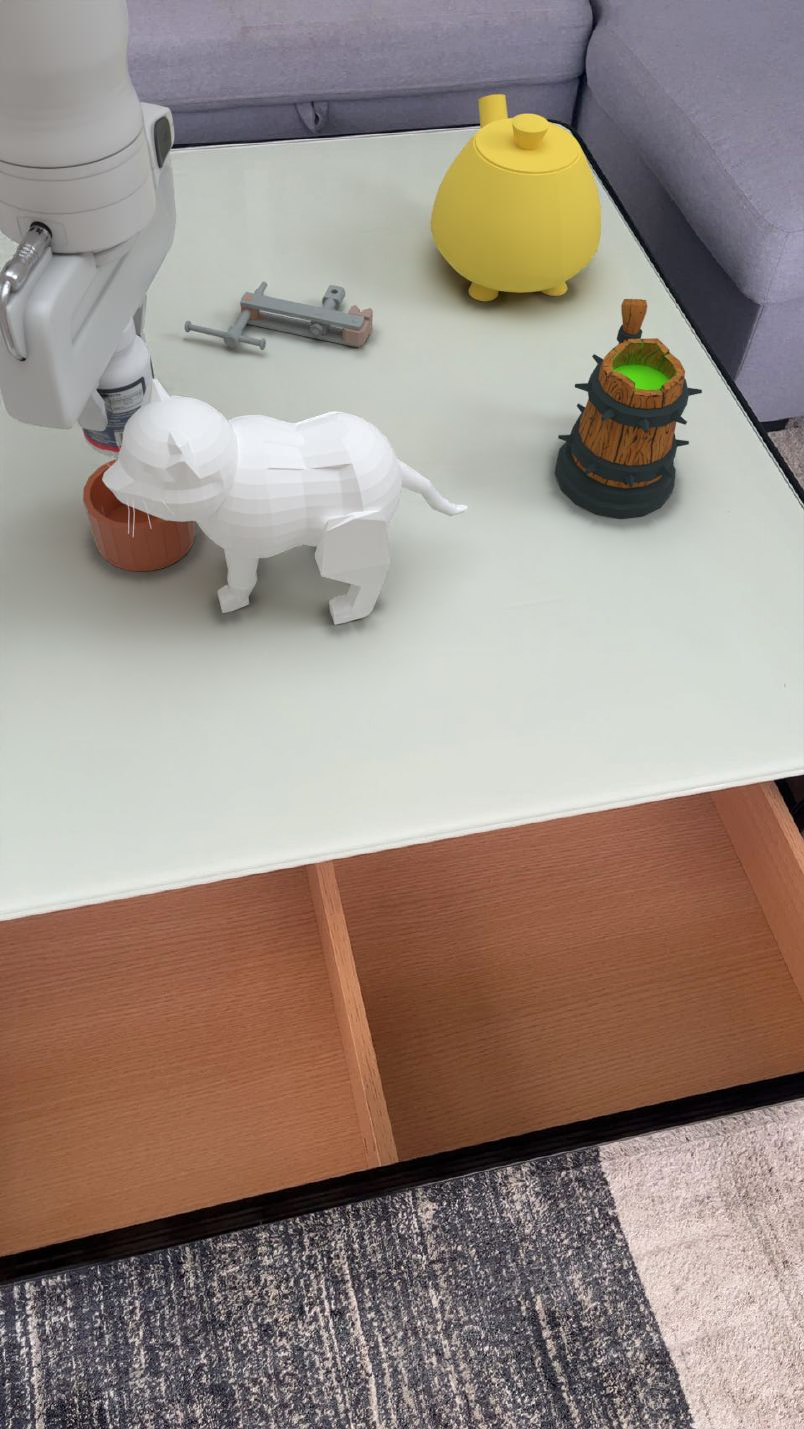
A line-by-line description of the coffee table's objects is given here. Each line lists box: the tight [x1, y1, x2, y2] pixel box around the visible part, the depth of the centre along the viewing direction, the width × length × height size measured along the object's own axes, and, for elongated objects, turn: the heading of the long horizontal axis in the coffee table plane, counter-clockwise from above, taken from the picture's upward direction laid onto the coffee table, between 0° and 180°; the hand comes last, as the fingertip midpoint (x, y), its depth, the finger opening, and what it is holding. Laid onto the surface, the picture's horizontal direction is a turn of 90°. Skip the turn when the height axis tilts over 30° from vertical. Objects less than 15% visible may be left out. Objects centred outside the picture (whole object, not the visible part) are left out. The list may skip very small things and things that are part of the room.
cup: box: [82, 458, 196, 572], centre depth 78 cm, size 7×7×4 cm
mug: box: [554, 298, 703, 520], centre depth 82 cm, size 13×10×12 cm
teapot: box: [430, 93, 602, 302], centre depth 97 cm, size 20×16×14 cm
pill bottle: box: [81, 316, 155, 458], centre depth 68 cm, size 5×5×9 cm
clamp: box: [184, 281, 374, 351], centre depth 93 cm, size 15×2×10 cm
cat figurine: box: [91, 377, 469, 625], centre depth 71 cm, size 25×10×17 cm, turn 107°
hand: (114, 389), depth 68 cm, fingers closed on pill bottle, 5 cm apart
